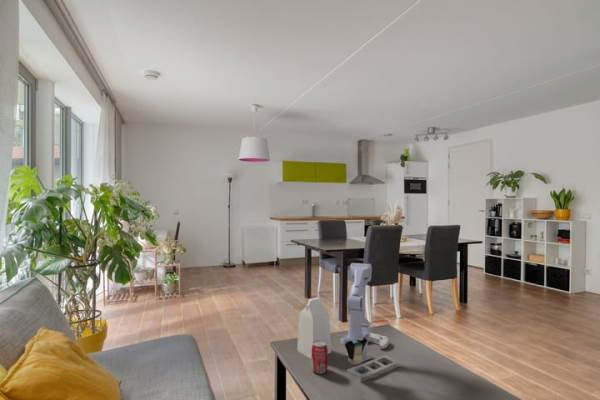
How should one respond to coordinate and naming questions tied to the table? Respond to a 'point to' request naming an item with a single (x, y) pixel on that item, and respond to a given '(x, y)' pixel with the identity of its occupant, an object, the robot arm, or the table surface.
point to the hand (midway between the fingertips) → (355, 357)
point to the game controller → (379, 340)
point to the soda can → (319, 357)
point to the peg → (357, 353)
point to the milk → (313, 327)
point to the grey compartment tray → (370, 372)
